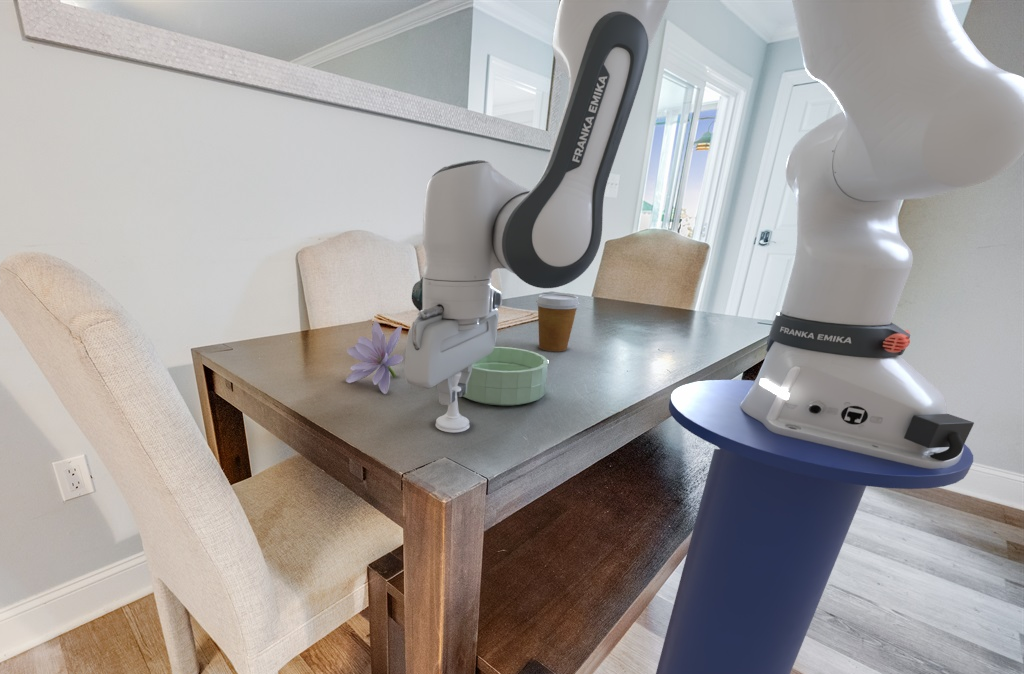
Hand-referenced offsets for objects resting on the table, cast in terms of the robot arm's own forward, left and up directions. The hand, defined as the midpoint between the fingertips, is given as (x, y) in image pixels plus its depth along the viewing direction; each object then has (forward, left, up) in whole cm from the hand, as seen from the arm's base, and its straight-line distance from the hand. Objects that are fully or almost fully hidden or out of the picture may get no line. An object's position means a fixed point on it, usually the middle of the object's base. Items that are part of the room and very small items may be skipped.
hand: (453, 399), depth 65 cm
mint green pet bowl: (+6, -16, -4) cm, 18 cm away
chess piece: (0, 0, -4) cm, 4 cm away
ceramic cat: (+27, -24, -4) cm, 36 cm away
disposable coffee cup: (+19, -48, -4) cm, 52 cm away
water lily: (+23, -1, -4) cm, 23 cm away
